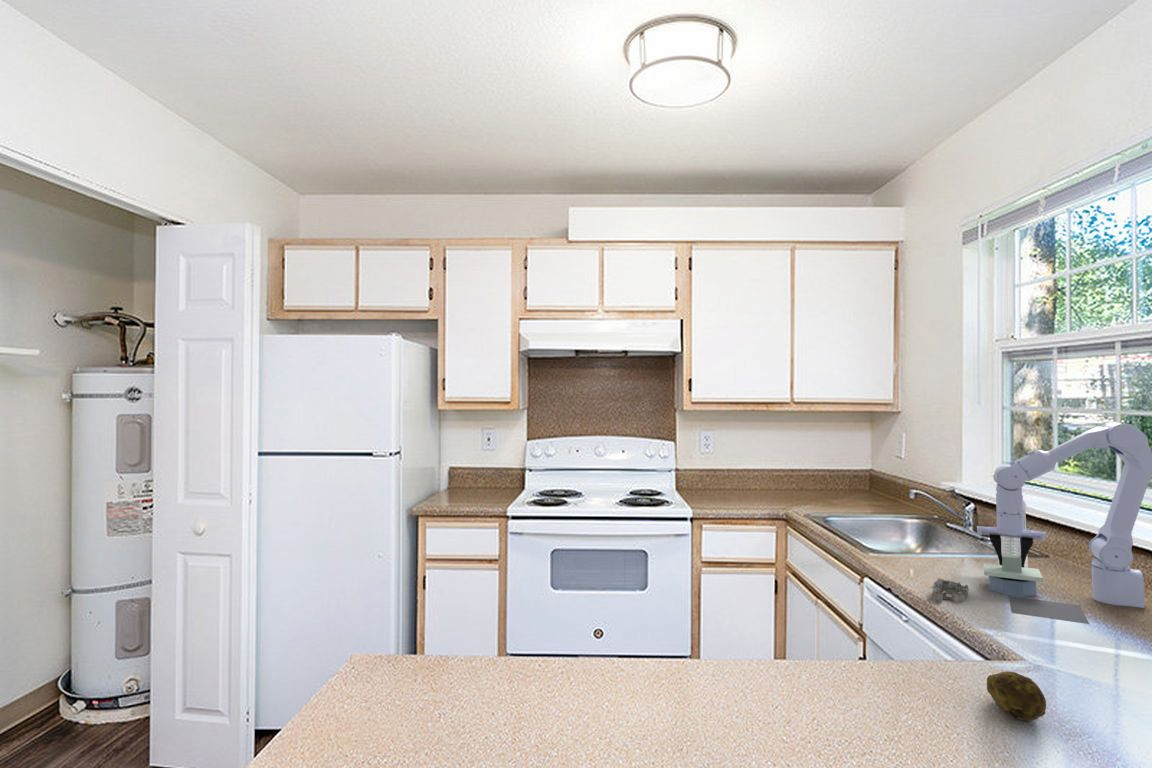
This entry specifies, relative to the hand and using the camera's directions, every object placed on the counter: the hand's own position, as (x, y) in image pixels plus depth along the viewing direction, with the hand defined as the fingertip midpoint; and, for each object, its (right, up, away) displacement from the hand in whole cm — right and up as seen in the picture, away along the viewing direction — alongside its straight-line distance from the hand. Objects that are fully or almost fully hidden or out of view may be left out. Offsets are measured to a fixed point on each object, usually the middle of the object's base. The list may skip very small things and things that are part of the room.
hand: (1011, 565), depth 160 cm
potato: (-42, -7, -61) cm, 74 cm away
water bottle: (+10, -7, +13) cm, 18 cm away
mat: (-2, -7, -14) cm, 16 cm away
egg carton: (-18, -8, -3) cm, 20 cm away
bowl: (0, -7, 0) cm, 7 cm away
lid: (0, -2, 0) cm, 2 cm away
